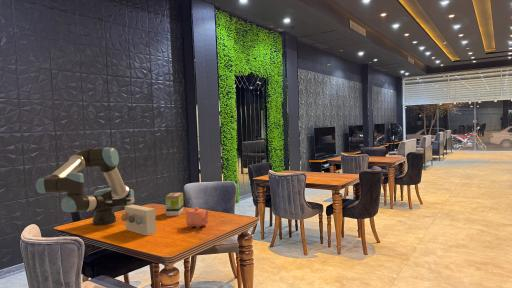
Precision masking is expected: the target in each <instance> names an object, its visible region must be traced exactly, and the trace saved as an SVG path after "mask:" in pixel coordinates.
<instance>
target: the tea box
mask: <svg viewBox="0 0 512 288" xmlns="http://www.w3.org/2000/svg"><path fill="white" fill-rule="evenodd" d="M184 208H185V207H184V192H170V193H168V194H167V195H166V196H165V216H166V217H174V216H175V217H177V216H178V217H180V215H181V214H182V213H183V212H184Z"/></svg>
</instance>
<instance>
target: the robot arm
mask: <svg viewBox="0 0 512 288" xmlns="http://www.w3.org/2000/svg"><path fill="white" fill-rule="evenodd" d="M119 162H120V157H119V152H118V150H117V149H116V148H114V147H109V146H108V147H107V146H106V147H94V148H93V147H89V148H85V149H82V150H80V151H77V152H75V153H74V154H73V155H71V156H70V157H69V158H68V160H67V162H65V163H64V164H63V165H62V166H60V167H59V168H58V169H57V170H55V171H54V172H53V173H52V174H50V175H49V176H48V177H42V178H39V179H37V180H36V183H35V189H36V191H37V193H39V194H51V193H53V194H55V193H66V196H65V197H63V198H62V199H61V202H60V207H61V210H62V211H63V212H65V213H76V212H84V211H86V212H87V213H88V212H89V211H94V213H93V218H92V221H91V222H92V225H94V226H103V225H104V226H105V225H110V224H114V223H115V222H116V221H117V216H116V214H115V212H114V210H113V208H117V207H119V208H121V207H122V208H123V207H124V208H125V206H129V205H134V203H135V191H134V189H131V188H130V189H129V187H128V186H127V185H126V184H125V183H124V180H123V179H122V178H123V177H122V175H121V174H120V171H119V169H118V164H119ZM84 168H85V169H86V168H97V169H98V170H99V172H100V173H103V175H104V177H105V179H106V181H107V183H108V186H109V187H107V188H102V189H98V190H96V191H94V193H93V195H85V196H84V191H85V190H84V189H85V187H84V185H85V184H84V183H85V180H84V179H85V178H84V173H82V172H78V171H83V169H84Z"/></svg>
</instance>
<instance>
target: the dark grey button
mask: <svg viewBox="0 0 512 288" xmlns="http://www.w3.org/2000/svg"><path fill="white" fill-rule="evenodd" d="M136 224H137V225H140V224H142V218H141V217H137V218H136Z"/></svg>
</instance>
